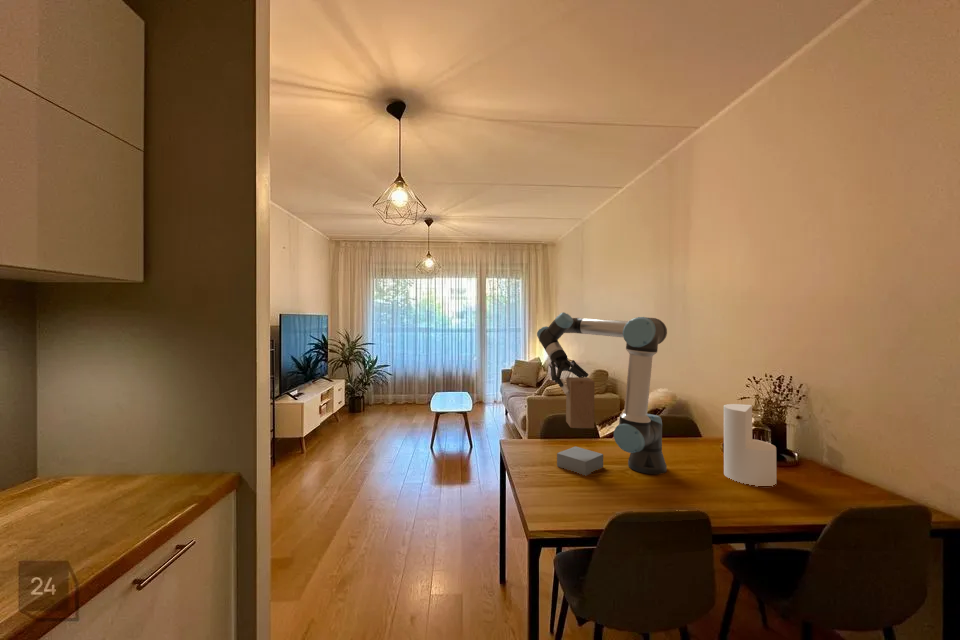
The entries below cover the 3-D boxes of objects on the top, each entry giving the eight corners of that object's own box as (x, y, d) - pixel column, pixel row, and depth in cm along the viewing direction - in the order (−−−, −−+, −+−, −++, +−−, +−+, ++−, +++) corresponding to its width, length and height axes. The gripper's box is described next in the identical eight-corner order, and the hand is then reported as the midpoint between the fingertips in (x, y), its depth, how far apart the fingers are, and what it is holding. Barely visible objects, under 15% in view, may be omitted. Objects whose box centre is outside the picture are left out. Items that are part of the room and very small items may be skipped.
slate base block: (603, 468, 162) (603, 454, 162) (585, 476, 153) (585, 461, 153) (575, 459, 172) (575, 446, 172) (557, 467, 163) (557, 453, 163)
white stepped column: (719, 478, 151) (719, 408, 152) (728, 466, 164) (727, 402, 164) (774, 491, 139) (773, 415, 140) (778, 477, 152) (778, 408, 153)
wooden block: (594, 428, 158) (594, 381, 158) (570, 428, 158) (570, 380, 158) (588, 422, 168) (588, 377, 168) (565, 421, 168) (566, 377, 168)
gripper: (572, 358, 185) (595, 394, 172) (532, 360, 174) (552, 398, 160) (580, 348, 181) (604, 384, 167) (538, 349, 169) (560, 388, 156)
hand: (579, 391), depth 164 cm, fingers closed on wooden block, 12 cm apart
